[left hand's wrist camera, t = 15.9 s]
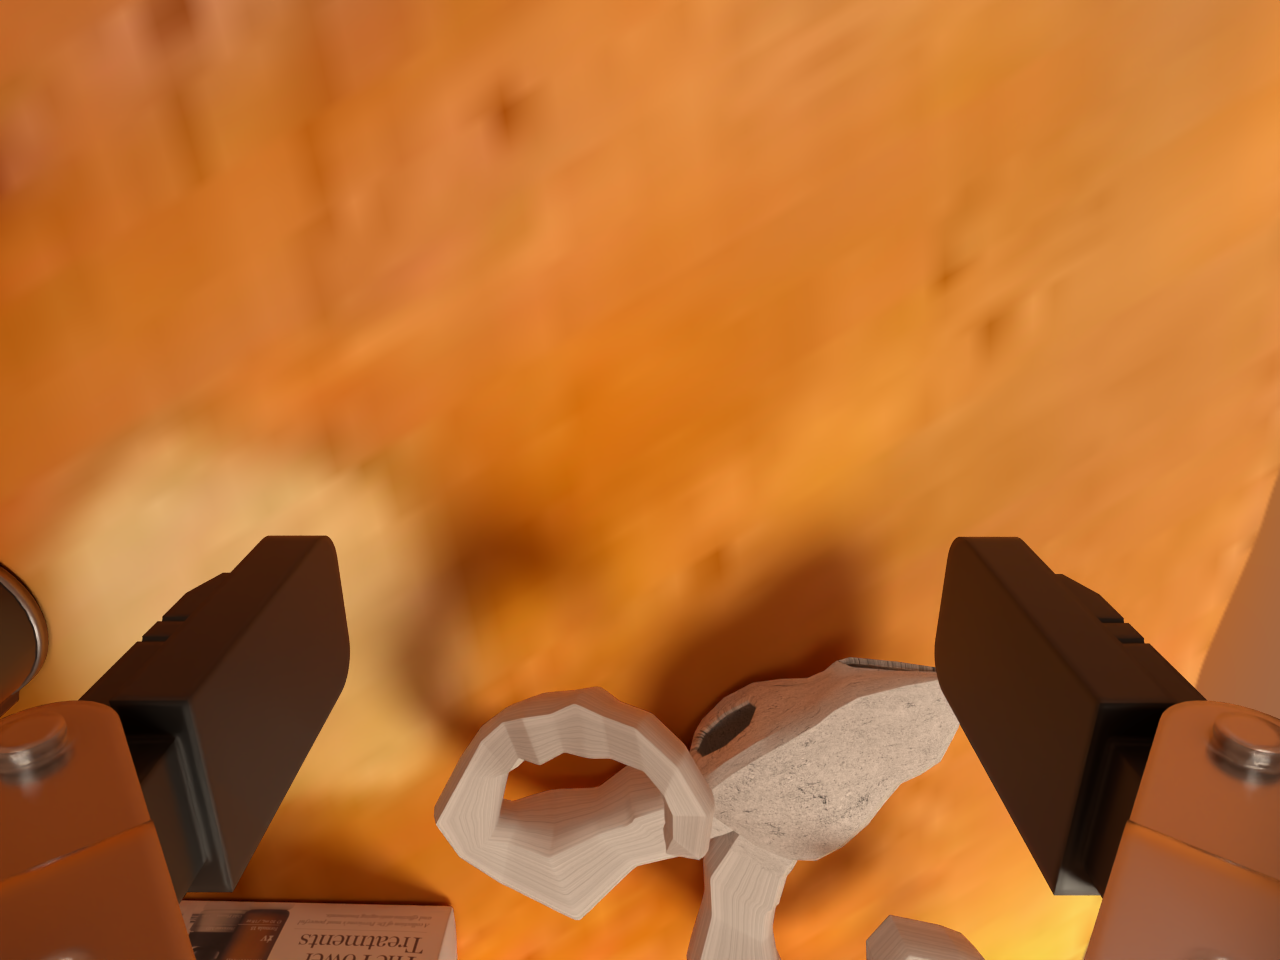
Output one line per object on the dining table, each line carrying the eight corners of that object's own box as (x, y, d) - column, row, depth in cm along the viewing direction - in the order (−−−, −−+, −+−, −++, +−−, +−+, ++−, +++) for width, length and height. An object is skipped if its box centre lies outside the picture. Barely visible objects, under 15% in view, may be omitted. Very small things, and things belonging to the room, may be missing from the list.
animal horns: (947, 944, 55) (1017, 1146, 44) (546, 980, 57) (518, 1181, 46) (930, 556, 44) (1017, 694, 33) (441, 619, 46) (372, 768, 36)
